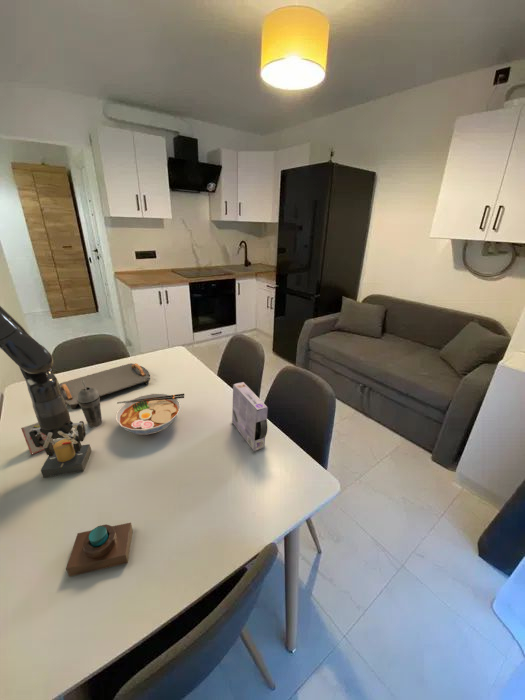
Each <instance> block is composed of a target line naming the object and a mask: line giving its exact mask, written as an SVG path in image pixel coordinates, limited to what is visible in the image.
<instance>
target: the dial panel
mask: <svg viewBox="0 0 525 700" xmlns="http://www.w3.org/2000/svg"><path fill="white" fill-rule="evenodd" d="M81 446H82V447H81V450H80V451H79V453H75V456H74V457H73V458H72V459H70V460H68V461H65V462H59V461H58V460H57V457H56V454H55V453H54V455H53V456H51V457H49V455H47V458H46V460H45V462H44V464H43V466H42V467H41V468H40V472H41V475H42V477H43V478H49V477H50V478H51V477H56V476H62V475H69V474H75V473H81V472H85V469H86V466H87V464H88V461H89V459H90V456H91V454H92V448H91V444H89V443H87V444H81ZM73 447H74V446H73ZM74 451H75V449H74Z"/></svg>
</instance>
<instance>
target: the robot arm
mask: <svg viewBox="0 0 525 700" xmlns="http://www.w3.org/2000/svg"><path fill="white" fill-rule="evenodd" d="M0 350H1V351H3V352H4V353H5V354H6V355H7V356H8V357H9V359H11V360H12V362H14V363H15V364H16V365H17V366H18V368H19V370H20V373H21V375H22V376H23V378H24V381H25V383H26V387H27V391H28V394H29V397H30V400H31V404H32V409H33V412H34V414H35V418H36V420H37V422H38V423H39V426H40V428H37V427H33V428H32V430H31V431H30V432H29V434H30V436H31V438H32V440H33V442H34V444H35V446H36V447H40V446H41V447H43V448H45V450H44V451H45V454H46V455H47V456H49V457H51V456H53V455H54V453H55V451H54V448H53V445H52V443H50V442H51V440H52V439H53V440H57V439H67V440H68V441H69V440H70V441H71V442H72V444H73V446H74V449H75V453H79V451H80V450H81V447H82V446H81V445H82V442H84V440H85V438H86V435H87V434H86V427H85V422H84V421H83V420H80V421H79V422H73V421H72V420H71V416H70V413H69V409H68V405H66V402H65V399H64V397H63V395H62V392H61V389H60V386H59V384H60V382H59V381H58V380H59V379H58V378H57V376H56V375H55V374H54V372H53V369H52V368H53V366H54V357H53V354H52V353H51V352H50V351H49V350H48V349H47V348H46V347H45V346H44V345H42V344H40V342H38V340H35V339H34V338H33V337H32V336H31V335H30V334H29V333H28V331H27V330H26V329H25V327H23V326H22V324H20V323H19V322H18V321H17V319H15V318H14V317H13V316H12V315H11V314H10V313H9V312H8V311H7V310H5V309H4V307H2V306H1V305H0ZM76 432H77V433H76ZM40 433H43V434H45V435H46V436H47V437H46V439H45V440H43V438H42V436H41V434H40Z"/></svg>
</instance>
